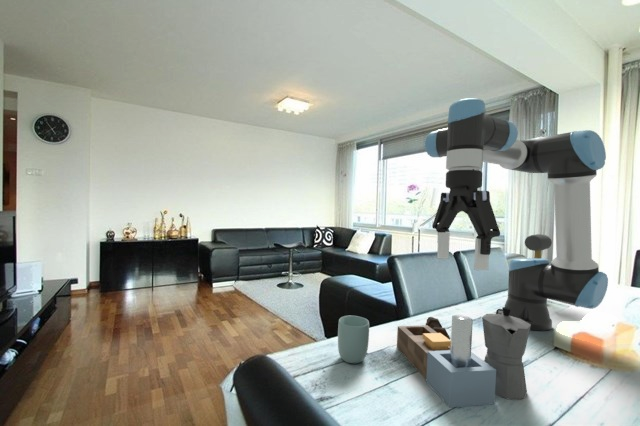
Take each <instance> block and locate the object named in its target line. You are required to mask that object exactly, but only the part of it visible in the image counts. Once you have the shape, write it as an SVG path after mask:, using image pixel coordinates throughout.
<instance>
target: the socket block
mask: <svg viewBox="0 0 640 426" xmlns="http://www.w3.org/2000/svg"><path fill="white" fill-rule="evenodd" d="M423 333H437V332H436V331H434V330H433V329H432V328H430V327H429V326H428V325H426V324H424V325H398V326H397V335H396V348H397V350H399V351H400V353H401V354H402V355H403V356H404V357H405V358H406V359H407V361H408V362H410V364H411V365H412V366H413V367H414V368H415V369H416V370H417V371H418V372H419V373H420V374H421V376H423V378H424V379H425V380H426V376H427V355H428V351H441V350H432V349H431V348H430V347H429V346H428V345H426V344H425V340H424V339H423ZM450 349H451V346H448V349H445V350H450Z"/></svg>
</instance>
